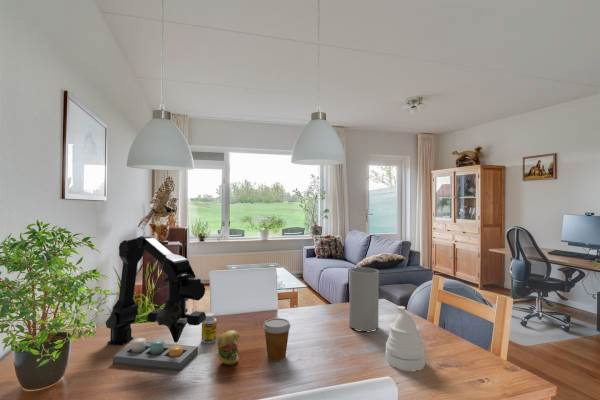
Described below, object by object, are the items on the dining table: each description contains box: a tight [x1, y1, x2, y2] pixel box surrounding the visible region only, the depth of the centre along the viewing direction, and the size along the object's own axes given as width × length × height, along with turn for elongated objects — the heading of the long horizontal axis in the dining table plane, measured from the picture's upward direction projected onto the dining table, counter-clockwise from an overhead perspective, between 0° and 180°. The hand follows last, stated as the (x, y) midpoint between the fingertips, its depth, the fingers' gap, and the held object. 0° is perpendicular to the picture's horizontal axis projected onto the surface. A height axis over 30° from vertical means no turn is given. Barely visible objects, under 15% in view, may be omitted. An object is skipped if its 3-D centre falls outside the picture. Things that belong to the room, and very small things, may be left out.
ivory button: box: [131, 337, 147, 353], centre depth 111 cm, size 4×4×3 cm
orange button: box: [169, 346, 183, 357], centre depth 109 cm, size 4×4×3 cm
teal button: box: [149, 339, 165, 355], centre depth 110 cm, size 4×4×3 cm
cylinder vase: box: [348, 266, 380, 331], centre depth 141 cm, size 12×12×25 cm
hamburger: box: [216, 326, 240, 366], centre depth 108 cm, size 8×7×12 cm
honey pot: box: [385, 305, 426, 371], centre depth 110 cm, size 13×13×18 cm
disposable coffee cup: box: [262, 317, 292, 362], centre depth 112 cm, size 10×10×12 cm
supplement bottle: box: [201, 312, 218, 344], centre depth 125 cm, size 6×6×10 cm
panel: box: [112, 341, 199, 372], centre depth 110 cm, size 24×12×3 cm, turn 81°
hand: (176, 342), depth 109 cm, fingers closed
